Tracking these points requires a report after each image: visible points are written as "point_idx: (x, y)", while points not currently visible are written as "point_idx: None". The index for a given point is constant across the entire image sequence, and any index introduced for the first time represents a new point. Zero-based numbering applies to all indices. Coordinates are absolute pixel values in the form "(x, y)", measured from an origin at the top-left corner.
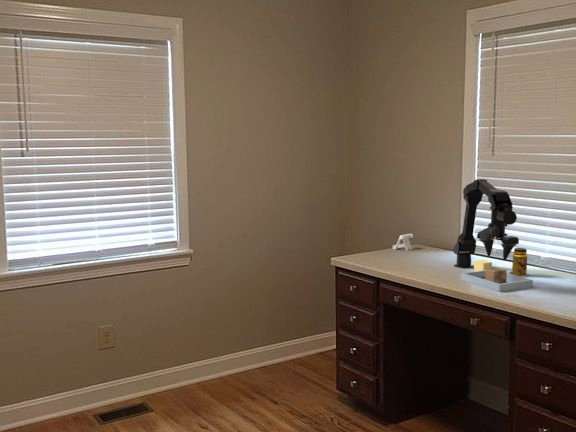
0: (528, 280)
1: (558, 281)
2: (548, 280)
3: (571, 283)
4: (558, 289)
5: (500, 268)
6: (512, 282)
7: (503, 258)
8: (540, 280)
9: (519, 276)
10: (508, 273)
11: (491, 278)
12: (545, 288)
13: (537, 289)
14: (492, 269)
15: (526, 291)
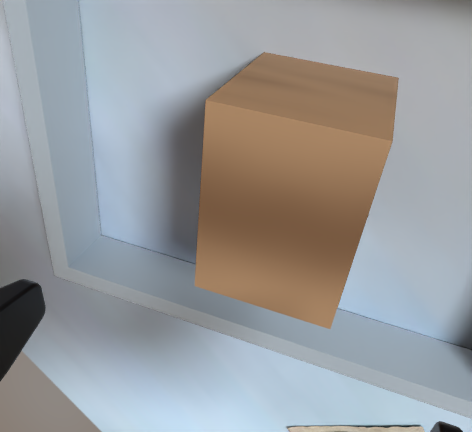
0: (49, 242)
1: (132, 419)
2: (169, 417)
3: (81, 410)
4: (3, 284)
5: (290, 315)
6: (25, 77)
7: (12, 293)
8: (190, 401)
9: (175, 313)
10: (299, 355)
11: (279, 78)
12: (38, 262)
13: (30, 210)
14: (318, 212)
15: (2, 105)
